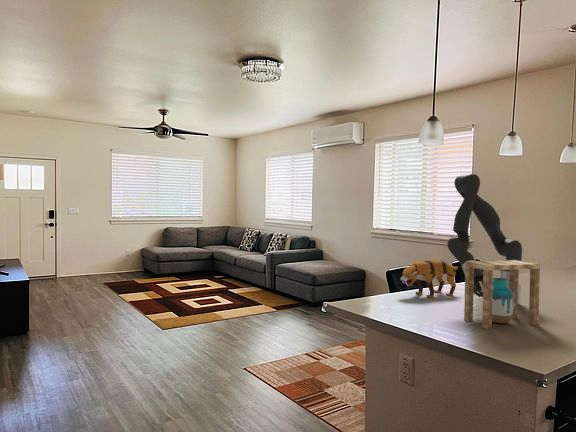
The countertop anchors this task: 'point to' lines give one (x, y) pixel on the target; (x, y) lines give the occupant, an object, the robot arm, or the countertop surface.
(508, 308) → the vase
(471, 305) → the riser shelf
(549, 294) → the countertop surface
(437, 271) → the toy
